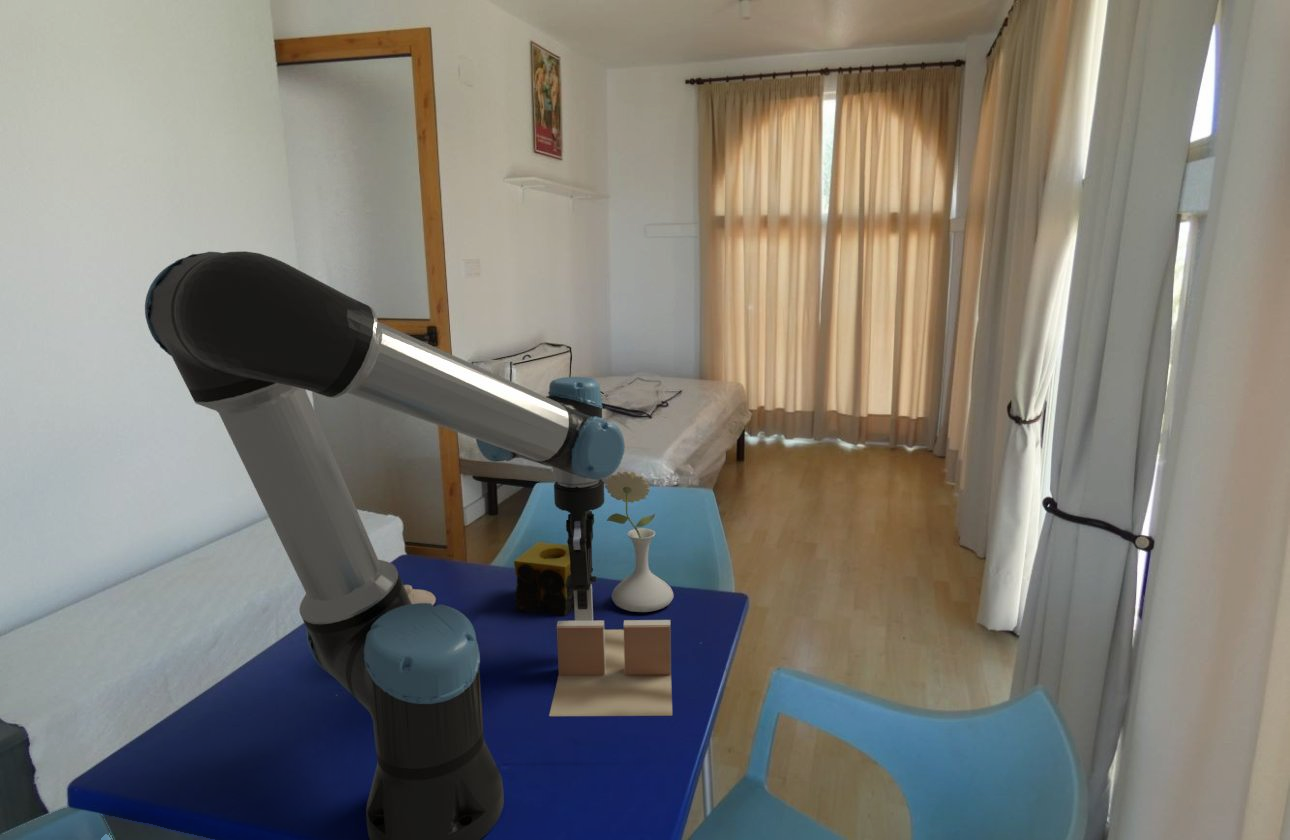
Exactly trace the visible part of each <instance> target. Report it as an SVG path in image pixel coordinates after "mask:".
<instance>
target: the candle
mask: <svg viewBox="0 0 1290 840" xmlns="http://www.w3.org/2000/svg"><path fill="white" fill-rule="evenodd" d="M513 562H514V563H513V566H514V570H515V571H514V572H515V576H516V588H515V592H514V594H515V601H514V602H515V612H528V613H539V614H552V615H558V616H562V617H563V616H564V617H567V616H568V615H569V614H570V612H573V611H575V609H574V591H573V590H572V589H569V585H570V584H572V579H571V567H570V554H569V547H568V544H560V543H548V542H541V541H537V542H535V543H534V544H533V546H531V547H529V549H528V550H526V551H525V552H523V553H522V554H521V555H519V556H518V557H517V558H516V559H514V561H513Z"/></svg>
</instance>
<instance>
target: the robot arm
mask: <svg viewBox="0 0 1290 840" xmlns="http://www.w3.org/2000/svg"><path fill="white" fill-rule="evenodd" d="M144 315H145V320H146V324H147V327H148V331H149V332H150V334H151V337H152V338H153V340H154V341H155V342H156V344H158V345H159V347H160V349H162V350H164V352H165V353H166V354H167V355H169V356H171V358H172V360H173V362H174V364H175V366H176V368H177V369H178V371H179V373H180V377H181V378H182V380H183V383H185V384H184V385H186V388H187V389H188V392H189V393H190V395H191V397H192V400H193V401H194V403H195V404H196V405H199V406H202V407H204V408H208V409H210V410H212V411H215V412H217V413H218V415H219V416H220V420H221V421H222V423H223V425H224V427H225V429H226V431H227V433H228V435H229V437H230V439H231V442H232V443H233V446H234V448H235V450H236V452H237V454H238V456H239V458H240V460H241V462H242V464H243V467H244V469H245V471H246V472H247V474H248V476H249V478H250V480H251V482H252V485H253V486H254V489H255V491H256V493H257V495H258V497H259V498H260V501H261V503H262V505H263V507H264V509H265V512H266V513H267V515H268V517H269V519H270V522H271V524H272V525H273V528H274V529H275V530H274V531H275V532H276V534H277V537H278V538H279V540H280V542H281V545H282V546H283V548H284V550H285V552H286V555H287V557H288V558H289V560H290V563H291V565H292V567H293V569H294V571H295V572H296V575H297V577H298V579H299V582H300V583H301V585H302V588H303V589H304V592H305V595H304V596H303V598H302V600H301V602H300V605H299V614H300V617H301V618H302V621H303V623H304V625H305V638H306V643H307V644H308V647H309V649H310V650H309V651H310V653H311V655H312V657H313V659H314V660H315V661H316V663H317V664H318V666H320V667H321V669H322V670H323V671H325V672H326V673H327V674H329V675H331V676H332V677H333V678H334V679H336V680H337V681H338V683H340V685H341V686H343V687H344V688H345V689H346V690H347V691H348V692H349V693H350V694H351V695H352V697H354V698H355V699H356V700H357V701H358V703H360V704H361V705H362V706H363V708H365V709H366V710H367V711H368V712H369V714H370V716H371V719H372V720H371V721H372V724H373V734H374V743H375V752H376V759H377V763H376V768H375V771H374V775H373V780H372V783H371V786H370V792H369V795H368V798H367V803H366V810H365V818H366V827H367V834H368V838H369V840H482V839H483V838H484V837H485V836H486V835H487V834H489V832H490V831H491V830H492V829H493V827H494V826H495V825H496V823H497V822H498V820H499V819H500V817H501V814H502V811H503V809H504V799H505V798H504V786H503V779H502V776H501V775H502V774H501V772H500V770H499V767H498V766H497V764H496V762H495V760H494V758H493V755H492V753H491V751H490V749H489V747H488V745H487V743H486V741H485V737H484V721H483V720H484V719H483V706H482V704H483V703H482V691H481V676H480V673H481V672H480V664H481V657H480V656H481V655H480V654H481V653H480V648H479V644H478V641H477V635H476V632H475V628H474V626H473V624H472V622H471V620H470V619H469V618H468V617H467V616H466V615H465V614H464V613H462V612H461V611H459V610H457V609H456V608H453V607H452V606H448V605H444V604H438V605H436V606H432V604H431V603H417V604H412V603H411V601H410V599H409V597H408V595H407V592H406V590H405V587H404V585H405V584H404V583H403V581H402V578H401V577H400V573H399V572H398V569H397V567H396V566H395V565H394V564H393V563H392V562H390V561H387V560H382V559H379V558H378V556H377V553H376V551H375V549H374V547H373V543H372V542H371V540H370V537H369V535H368V532H367V530H366V529H365V526H364V523H363V520H362V519H361V516H360V514H359V511H358V509H357V507H356V504H355V502H354V500H353V497H352V495H351V493H350V490H349V489H348V486H347V483H346V480H345V479H344V476H343V474H342V471H341V469H340V467H339V465H338V463H337V461H336V458H335V456H334V453H333V451H332V448H331V447H330V445H329V442H328V439H327V437H326V435H325V432H324V430H323V427H322V425H321V423H320V420H319V419H318V416H317V413H316V412H315V409H314V406H313V405H312V402H311V400H310V397H309V395H308V393H307V391H308V392H313V393H316V394H319V395H321V396H324V397H327V398H330V399H331V398H332V399H334V398H335V399H336V398H339V397H341V396H343V395H345V394H350V395H353V396H355V397H359V398H361V399H363V400H367V401H368V402H369V401H370V402H372V403H375V404H378V405H380V406H383V407H387V408H388V409H392V410H394V411H398V412H401V413H403V414H406V415H408V416H411V417H414V418H417V419H419V420H422V421H425V422H428V423H431V424H434V425H436V426H439V427H442V428H445V429H448V430H451V431H454V432H456V433H459V434H462V435H464V436H467V437H471V438H473V439H475V441H476V444H477V447H478V449H479V451H480V453H481V455H482V456H483V457H484V458H485V459H487V460H488V461H490V462H494V463H498V462H503V461H505V462H510V461H511V460H514V459H523V460H527V461H530V462H534V463H537V464H541V465H544V466H545V467H546V466H547V467H552V479H553V480H554V481H555V482H554V484H553V498H554V505H555V507H556V508H557V509H559V510H560V511H565V512H568V513H569V514H568V515H567V519H566V520H565V528H566V529H565V530H566V532H567V534H568V535H567V537H568V538H567V540H566V545H568V547H569V554H570V567H571V579H572V584H570V585H569V589H572V590H573V591H574V621H594V608H593V607H594V605H593V583H596V582H597V576H596V575H595V576H592V574H593V571H594V567H593V539H594V524H595V515H594V513H593V511H594V510H597V509H599V508H601V507H602V506H603V505H604V504H605V484H604V483H605V482H604V480H603V479H605V478H609V477H611V475H614V474H615V472H616V470H618V469H619V467H620V465H621V464H622V460H623V458H624V454H625V438H624V435H623V432H622V430H621V429H620V428H619V426H618V425H617V424H615V423H614V422H612V421H609V420H606V419H603V409H604V408H603V407H604V406H603V403H602V394H601V393H602V392H601V386H600V384H599V383H600V382H598V381H597V380H596V379H594V378H591V377H586V376H566V377H565V376H564V377H558V378H556V379H552V380H551V381H550V383H549V388H548V389H549V390H548V392H547V393H548V395H547V396H544V395H542V394H540V393H538V392H536V391H533V390H531V389H529V388H527V387H525V386H522V385H520V384H518V383H516V382H514V381H511V380H509V379H507V378H504V377H502V376H500V375H497V374H495V373H493V372H491V371H489V370H487V369H484V368H482V367H479V366H477V364H474V363H471V362H469V361H466V360H465V359H462V358H460V357H457V356H455V355H454V354H451V353H448V352H447V351H445V350H443V349H439V348H438V347H436V346H433V345H431V344H429V343H426V342H424V341H423V340H420V339H418V338H415V337H413V336H411V335H409V334H407V333H404V332H402V331H400V330H397V329H396V328H394V327H391V326H389V325H386V324H385V323H382V322H380V321H379V320H378V318H377V315H376V311H375V310H374V309H373V307H371V306H370V305H368V304H366V303H363V302H361V301H359V300H357V299H355V298H353V297H351V296H349V295H347V294H345V293H343V292H341V291H339V290H338V289H335V288H334V287H331V286H330V285H328V284H326V283H324V282H323V281H320V280H318V279H317V278H315V277H312V276H310V275H309V274H307V273H305V272H303V271H301V270H299V269H298V268H296V267H294V266H292V265H290V264H288V263H286V262H283V261H282V260H280V259H277V258H275V257H272V256H268V255H265V254H262V253H260V252H259V253H258V252H251V251H245V250H244V251H228V252H227V251H226V252H219V251H207V252H202V253H192V254H190V255H188V256H186V257H183V258H179V259H177V260H175V261H174V262H172V263H171V264H169V265H168V266H166V267H165V268H164V269H162V270H161V271H160V272H159V273H158V274H157V275H156V277H154V279H153V280H152V282H151V284H150V286H149V288H148V291H147V293H146V297H145V301H144Z"/></svg>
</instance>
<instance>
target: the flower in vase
mask: <svg viewBox="0 0 1290 840" xmlns="http://www.w3.org/2000/svg"><path fill="white" fill-rule="evenodd" d="M647 482H648V480H647V479H645V478H644V476H642V475H639V476H638V475H637V473H636V472H634V471H632V472H630V473H629V472H628V471H626V470H625V471H623V472H621V471H618V472H616V474H611V475H610V476H608V477H607V481H606V483H605V484H604V489H606V490H607V493H608V494H610V497H611V498H614V499H615V500H616V501H621V500H622V501H623V502H624V503H625V514H626V515H624V514H621V513H617V512H616V513H613V514H611V515H610V516H609V517H608V518H607V519H606V521H607V522H613V523H617V524H621V525H623V524H625V523H626V522H627V521H629V523H630V524H631V526H632V527H633V529H631V530H629V531H628V532H627V536H628V537H629V539H630V540H631V541H632V544H633V547H634V553H635V567H634V570H633V572H632V573H631V574H630V575H629V576H627V577H625V578H624V579H622V580H621V581H620V582H619V583H618V584H617V585H616V586H615V587H614V589H613V590H612V593H611V600H612V601H613V603H614V604H615V605H616V606H617V607H618V608H619V609H622V610H624V611H628V612H632V613H633V612H635V613H648V612H655V611H659V610H661V609H665V607H667V606H669V604H670V603H671V602H672V601H673V599H674V591H673V589H672V588H671V586H670V585H669V584H667V582H665V581H664V580H663V579H661V578H660V577H658V576H657V575H655V574H654V573H653V572H652V571H651V570H650V567H649V549H650V544H651V541H652V539H653V538H654V536H655V535H656V531H655V530H653V529H650V528H646V527H645V526H646V525H648V524H649V523H651V522H652V520H653V519H654V518H655V516H656V513H654V514H652V515H647V516H644V517H642V518H640V520H639V521H638V522H637V523H636V525H635V524H634V522H633V521H632V519H631V517H630V516H629V512H628V511H629V507H628V505H629V504H628V503H631V504H632V503H634V502H640V501H641V500H646V499H647V496H648V495H649V492H651V489H650V485H649V484H648V483H647ZM639 527H640V528H639ZM644 527H645V528H644Z"/></svg>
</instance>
